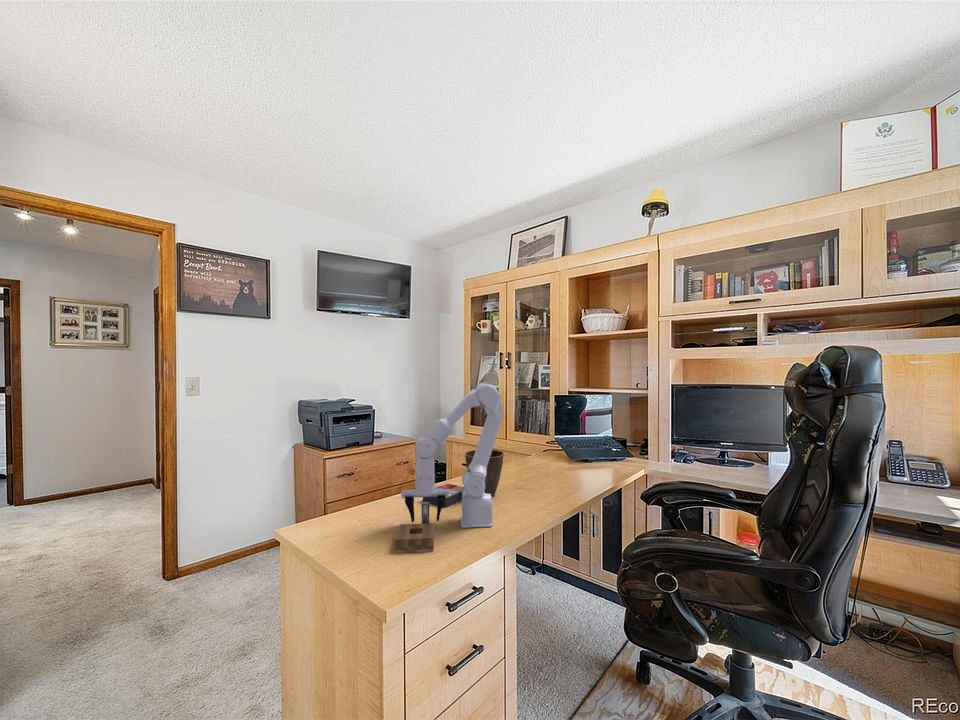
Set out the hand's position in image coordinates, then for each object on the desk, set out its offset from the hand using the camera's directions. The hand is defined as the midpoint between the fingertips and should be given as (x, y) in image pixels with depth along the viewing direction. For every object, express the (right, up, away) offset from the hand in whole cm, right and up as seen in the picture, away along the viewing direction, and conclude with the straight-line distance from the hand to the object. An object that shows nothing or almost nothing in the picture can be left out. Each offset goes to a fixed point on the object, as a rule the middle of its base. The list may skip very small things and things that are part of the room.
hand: (425, 520), depth 122 cm
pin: (0, -2, 0) cm, 2 cm away
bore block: (-1, -2, -12) cm, 12 cm away
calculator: (+5, -3, +25) cm, 25 cm away
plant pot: (+19, -2, +29) cm, 34 cm away
